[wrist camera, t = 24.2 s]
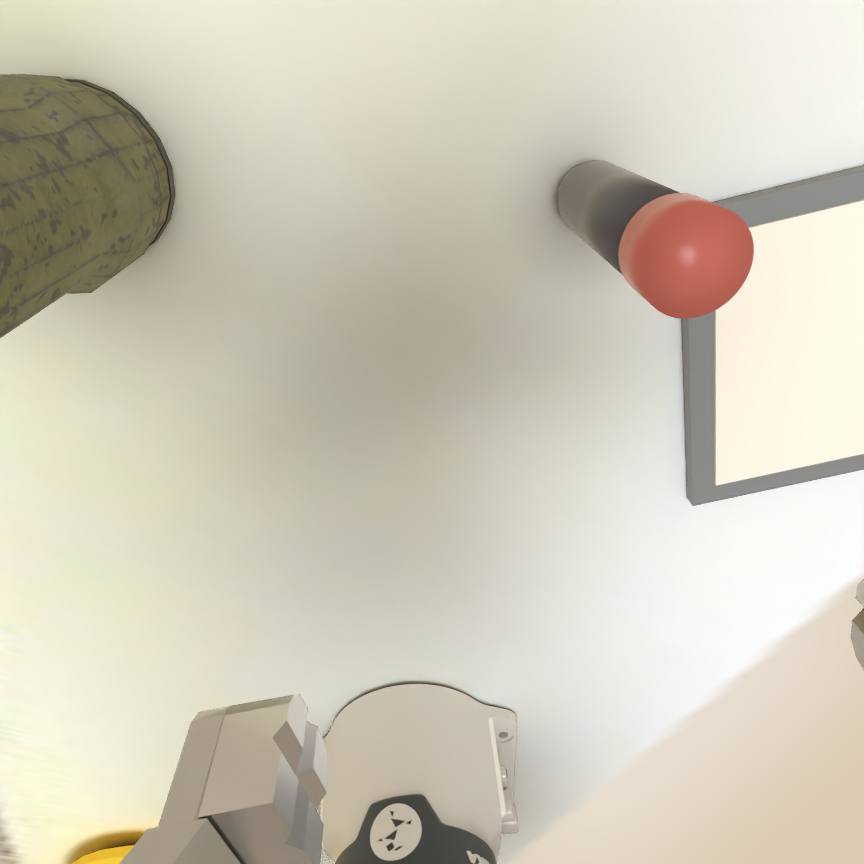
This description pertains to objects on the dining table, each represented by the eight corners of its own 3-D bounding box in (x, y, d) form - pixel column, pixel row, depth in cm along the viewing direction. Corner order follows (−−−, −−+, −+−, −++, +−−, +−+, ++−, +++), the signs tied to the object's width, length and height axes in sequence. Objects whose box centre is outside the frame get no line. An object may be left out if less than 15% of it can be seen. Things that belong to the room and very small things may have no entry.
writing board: (918, 447, 43) (931, 457, 42) (686, 497, 44) (693, 507, 43) (978, 137, 33) (997, 139, 32) (678, 210, 34) (687, 214, 33)
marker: (622, 220, 35) (752, 304, 22) (554, 236, 35) (644, 329, 22) (617, 146, 33) (755, 193, 20) (545, 164, 33) (637, 221, 20)
